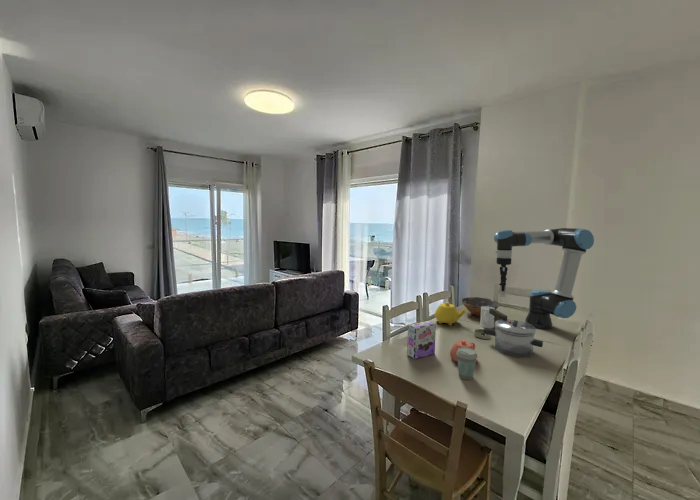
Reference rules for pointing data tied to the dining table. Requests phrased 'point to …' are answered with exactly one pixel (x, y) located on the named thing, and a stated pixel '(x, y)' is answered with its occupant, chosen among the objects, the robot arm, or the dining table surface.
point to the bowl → (478, 304)
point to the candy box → (421, 339)
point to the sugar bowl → (459, 345)
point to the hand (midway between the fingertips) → (502, 293)
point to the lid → (511, 324)
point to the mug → (486, 317)
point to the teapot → (448, 313)
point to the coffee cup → (466, 362)
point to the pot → (514, 343)
